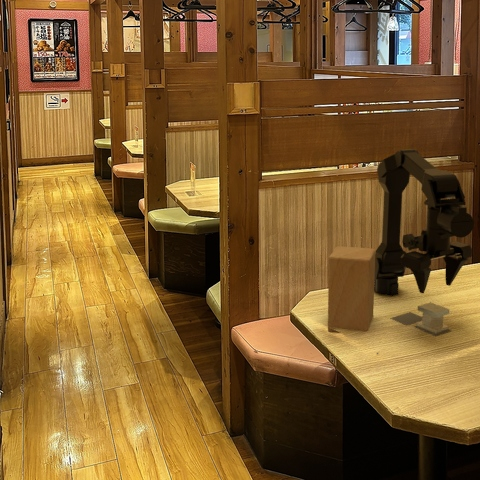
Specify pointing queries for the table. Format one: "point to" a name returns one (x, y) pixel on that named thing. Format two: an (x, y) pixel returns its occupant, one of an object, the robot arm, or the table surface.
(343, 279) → the wooden block
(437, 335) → the stand
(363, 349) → the table surface
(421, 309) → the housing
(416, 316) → the stand
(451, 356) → the table surface
